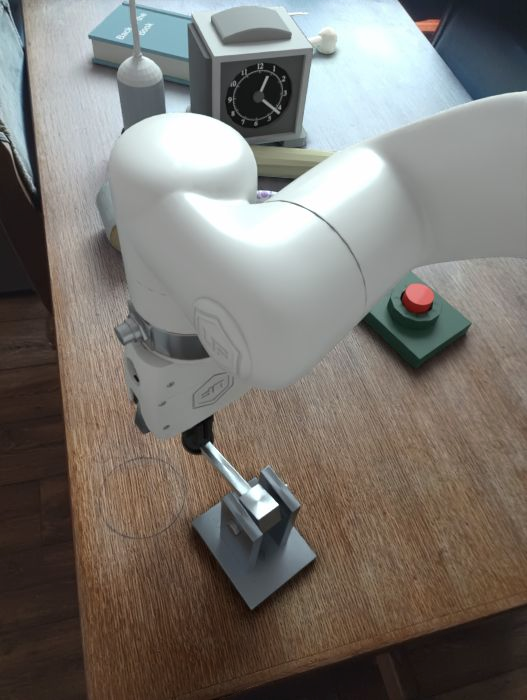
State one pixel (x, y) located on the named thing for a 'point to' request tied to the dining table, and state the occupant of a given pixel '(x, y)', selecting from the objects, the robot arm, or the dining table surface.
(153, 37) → the book
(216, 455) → the tap lever
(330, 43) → the faucet
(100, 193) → the ceramic mug
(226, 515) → the tap bracket
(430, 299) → the button
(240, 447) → the dining table surface
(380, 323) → the button block
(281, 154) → the rolling pin
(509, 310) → the dining table surface
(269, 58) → the alarm clock
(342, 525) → the dining table surface
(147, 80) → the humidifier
